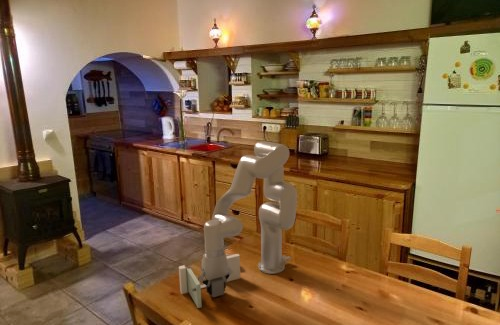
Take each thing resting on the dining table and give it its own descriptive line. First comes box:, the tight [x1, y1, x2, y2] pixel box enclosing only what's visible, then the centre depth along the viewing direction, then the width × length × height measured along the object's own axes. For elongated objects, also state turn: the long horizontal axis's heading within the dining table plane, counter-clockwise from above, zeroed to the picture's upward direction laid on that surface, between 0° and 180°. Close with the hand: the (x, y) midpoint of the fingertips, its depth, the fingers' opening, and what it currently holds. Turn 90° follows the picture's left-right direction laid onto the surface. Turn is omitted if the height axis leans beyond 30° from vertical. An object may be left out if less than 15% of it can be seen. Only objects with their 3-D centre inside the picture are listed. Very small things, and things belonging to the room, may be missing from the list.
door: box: [185, 266, 203, 309], centre depth 144 cm, size 15×3×10 cm, turn 26°
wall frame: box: [178, 253, 241, 295], centre depth 154 cm, size 27×2×12 cm, turn 116°
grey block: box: [210, 277, 225, 298], centre depth 147 cm, size 5×5×6 cm
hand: (216, 291), depth 148 cm, fingers closed on grey block, 5 cm apart
